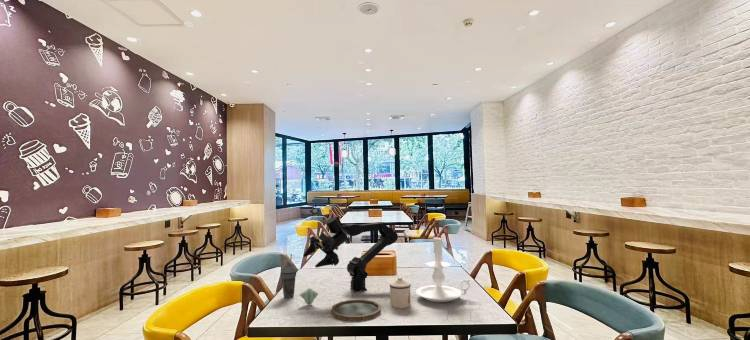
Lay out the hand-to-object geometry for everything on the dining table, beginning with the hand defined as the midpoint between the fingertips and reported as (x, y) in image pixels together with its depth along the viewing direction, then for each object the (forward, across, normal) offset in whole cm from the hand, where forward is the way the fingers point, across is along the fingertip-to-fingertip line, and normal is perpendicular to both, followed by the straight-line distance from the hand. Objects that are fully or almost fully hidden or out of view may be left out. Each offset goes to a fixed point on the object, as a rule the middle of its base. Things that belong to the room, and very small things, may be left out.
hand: (309, 261), depth 152 cm
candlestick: (-34, +50, +19) cm, 63 cm away
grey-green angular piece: (+11, +11, +10) cm, 19 cm away
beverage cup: (+14, -3, +16) cm, 21 cm away
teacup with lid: (-17, +39, +13) cm, 45 cm away
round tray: (0, +31, +6) cm, 32 cm away
